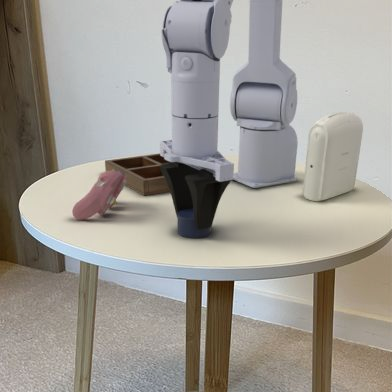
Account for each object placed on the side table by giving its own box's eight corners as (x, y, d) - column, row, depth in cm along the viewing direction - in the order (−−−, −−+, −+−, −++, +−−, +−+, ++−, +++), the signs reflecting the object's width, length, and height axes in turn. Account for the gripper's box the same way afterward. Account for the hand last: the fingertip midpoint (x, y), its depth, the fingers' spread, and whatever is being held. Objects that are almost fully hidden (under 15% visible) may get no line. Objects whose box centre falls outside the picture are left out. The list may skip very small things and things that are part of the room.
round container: (198, 224, 83) (199, 206, 82) (216, 234, 80) (217, 215, 79) (171, 230, 81) (171, 211, 80) (188, 240, 78) (188, 221, 77)
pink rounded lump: (97, 233, 84) (115, 190, 80) (68, 216, 84) (85, 173, 80) (118, 211, 92) (136, 171, 89) (92, 196, 92) (109, 155, 88)
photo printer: (319, 203, 92) (330, 119, 86) (297, 197, 95) (306, 114, 88) (357, 191, 98) (370, 111, 92) (336, 185, 101) (346, 107, 94)
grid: (176, 164, 111) (176, 151, 110) (219, 183, 101) (220, 168, 100) (105, 174, 105) (104, 160, 104) (144, 195, 94) (143, 180, 93)
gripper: (138, 108, 76) (142, 211, 83) (199, 128, 66) (197, 245, 73) (185, 103, 80) (185, 203, 87) (250, 122, 69) (244, 234, 76)
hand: (193, 222), depth 80 cm, fingers closed on round container, 4 cm apart
